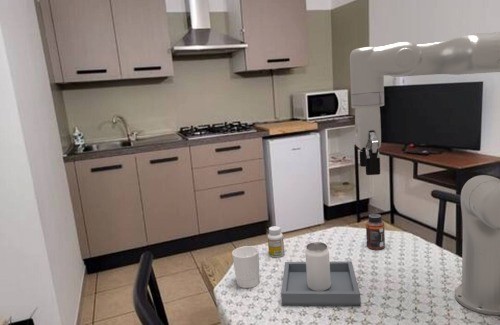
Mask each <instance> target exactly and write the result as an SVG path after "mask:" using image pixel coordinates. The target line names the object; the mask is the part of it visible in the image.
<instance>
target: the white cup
mask: <svg viewBox="0 0 500 325" xmlns="http://www.w3.org/2000/svg"><path fill="white" fill-rule="evenodd" d="M259 251H260V250H259V249H258V248H257V246H256V247H255V246H253V245H250V246H249V245H246V246H245V245H244V246H240V247H237V248H234V249H233V250H232V252H231V254H232V255H231V256H232V262H233V267H234V274H235V278H236V284H237V286H238V287H240V288H244V289H250V288H251V289H252V288H254V287H256V286H258V285H259V283H260V252H259Z"/></svg>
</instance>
